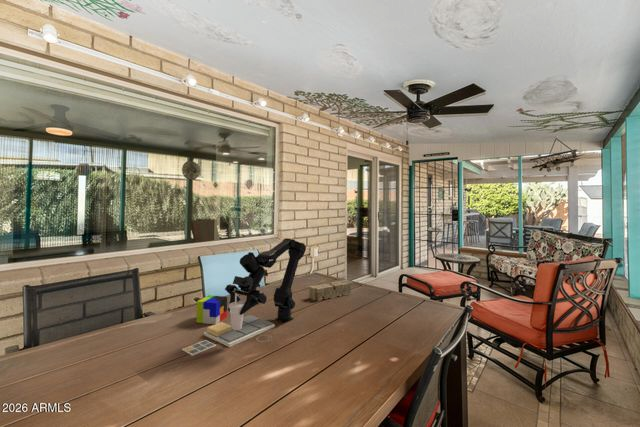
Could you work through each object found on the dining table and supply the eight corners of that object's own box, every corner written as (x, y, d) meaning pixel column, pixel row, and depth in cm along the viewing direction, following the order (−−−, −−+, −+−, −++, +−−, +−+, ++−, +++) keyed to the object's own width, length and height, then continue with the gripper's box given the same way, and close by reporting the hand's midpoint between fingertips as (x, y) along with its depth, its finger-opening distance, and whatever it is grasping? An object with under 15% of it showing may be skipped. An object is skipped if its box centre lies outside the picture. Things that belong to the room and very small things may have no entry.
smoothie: (231, 324, 121) (232, 290, 120) (247, 325, 120) (247, 291, 120) (226, 331, 114) (226, 295, 114) (242, 331, 114) (242, 296, 114)
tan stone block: (316, 303, 173) (353, 294, 190) (316, 289, 173) (353, 281, 190) (308, 300, 180) (344, 291, 197) (308, 286, 179) (345, 278, 196)
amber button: (221, 326, 131) (221, 322, 131) (231, 331, 127) (232, 326, 127) (207, 332, 125) (207, 327, 125) (217, 336, 121) (217, 331, 121)
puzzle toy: (215, 324, 137) (216, 303, 136) (196, 322, 139) (196, 301, 138) (226, 316, 146) (227, 296, 146) (208, 314, 148) (209, 295, 148)
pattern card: (205, 340, 120) (205, 339, 120) (216, 345, 116) (216, 344, 116) (182, 349, 112) (182, 348, 112) (192, 355, 108) (192, 354, 108)
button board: (249, 318, 146) (249, 313, 145) (274, 326, 136) (274, 322, 136) (203, 335, 125) (204, 330, 125) (229, 347, 115) (229, 342, 115)
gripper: (228, 265, 125) (206, 298, 115) (262, 271, 115) (241, 307, 106) (241, 279, 132) (222, 311, 123) (274, 286, 122) (256, 321, 113)
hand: (234, 312), depth 116 cm, fingers closed on smoothie, 6 cm apart
